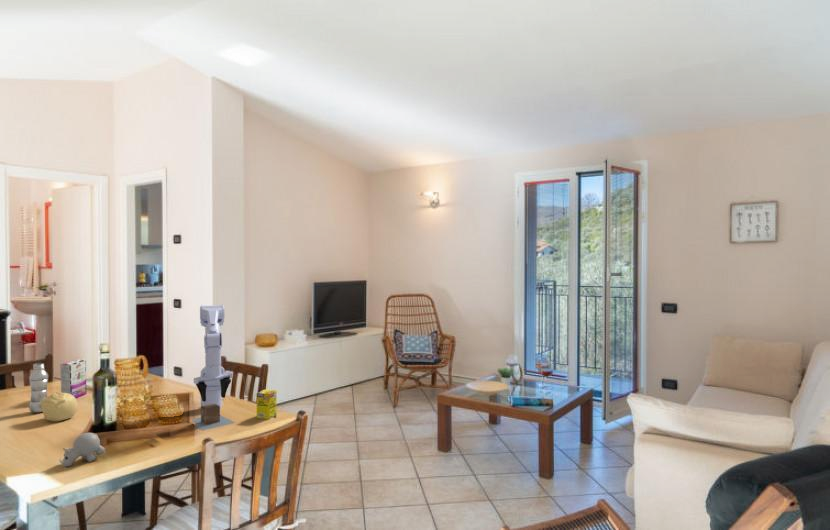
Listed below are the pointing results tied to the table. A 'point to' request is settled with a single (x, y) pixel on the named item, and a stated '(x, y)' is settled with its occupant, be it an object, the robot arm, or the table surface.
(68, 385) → the candy bar box
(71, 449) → the chubby cartoon animal
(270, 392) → the supplement box
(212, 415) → the walnut cap
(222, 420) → the slate board
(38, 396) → the plastic bottle
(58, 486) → the table surface
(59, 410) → the pale yellow round lump
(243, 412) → the table surface
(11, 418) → the table surface
